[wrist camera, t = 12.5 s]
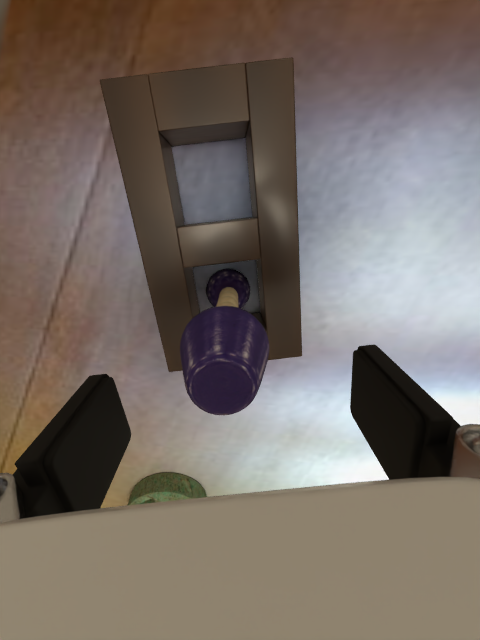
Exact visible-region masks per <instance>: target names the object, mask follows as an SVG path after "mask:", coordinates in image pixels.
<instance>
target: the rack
mask: <svg viewBox="0 0 480 640" xmlns="http://www.w3.org/2000/svg"><path fill="white" fill-rule="evenodd" d="M100 84H101V88H102V92H103V97H104V101H105V105H106V109H107V113H108V118H109V122H110V126H111V130H112V134H113V139H114V143H115V147H116V151H117V155H118V160H119V164H120V168H121V172H122V177H123V181H124V185H125V189H126V193H127V198H128V202H129V206H130V210H131V214H132V219H133V223H134V227H135V231H136V235H137V240H138V244H139V248H140V252H141V256H142V261H143V265H144V269H145V273H146V277H147V282H148V286H149V290H150V294H151V299H152V303H153V307H154V311H155V315H156V320H157V324H158V328H159V332H160V336H161V341H162V345H163V349H164V353H165V357H166V362H167V366H168V370H169V372H173V371H181V370H183V369H182V363H181V355H180V341H181V337H182V334H183V332H184V330H185V328H186V326H187V324H188V323H189V322H190V321H191V319H193V318H194V317H195V316H196V315H198V314H199V313H200V310H199V304H198V298H197V293H196V287H195V281H194V275H193V270H192V267H197V266H205V265H214V264H222V263H231V262H239V261H248V260H256V265H257V276H258V288H259V299H260V311H261V313H260V312H259V313H250V314H252V315H253V316H254V317H256V319H257V320H258V321H259V322H260V323H261V324H262V326H263V327H264V329H265V331H266V333H267V336H268V341H269V356H268V360H274V359H282V358H290V357H299V356H302V337H301V303H300V269H299V234H298V200H297V166H296V132H295V97H294V63H293V58H283V59H275V60H266V61H258V62H249V63H238V64H229V65H221V66H212V67H204V68H195V69H186V70H178V71H169V72H161V73H152V74H145V75H136V76H128V77H119V78H110V79H102V80H100ZM238 138H246V149H247V161H248V172H249V184H250V195H251V207H252V217H248V218H239V219H231V220H222V221H214V222H205V223H197V224H188V225H185V223H184V218H183V212H182V206H181V200H180V195H179V189H178V183H177V177H176V171H175V166H174V160H173V154H172V148H171V146H178V145H187V144H195V143H204V142H212V141H221V140H229V139H238Z"/></svg>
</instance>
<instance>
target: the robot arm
mask: <svg viewBox="0 0 480 640" xmlns="http://www.w3.org/2000/svg"><path fill="white" fill-rule="evenodd" d="M350 408H351V413H352V416H353V418H354V420H355V421H356V423H357V425H358V427H359V428H360V430H361V432H362V433H363V435H364V437H365V439H366V440H367V442H368V444H369V445H370V447H371V449H372V451H373V452H374V454H375V456H376V457H377V459H378V461H379V463H380V464H381V466H382V468H383V469H384V471H385V473H386V475H387V476H388V478H389V480H381V481H368V482H356V483H346V484H335V485H325V486H314V487H304V488H293V489H283V490H273V491H263V492H253V493H243V494H233V495H223V496H213V497H204V498H194V499H184V500H174V501H165V502H156V503H147V504H137V505H128V506H119V507H110V508H100V507H101V505H102V502H103V500H104V498H105V496H106V493H107V491H108V489H109V487H110V484H111V482H112V480H113V478H114V475H115V473H116V471H117V468H118V466H119V464H120V462H121V459H122V457H123V455H124V453H125V450H126V448H127V446H128V444H129V441H130V438H131V431H130V427H129V424H128V421H127V418H126V415H125V412H124V409H123V406H122V403H121V400H120V397H119V394H118V391H117V388H116V385H115V382H114V380H113V378H112V377H109V376H108V375H107V374H101V375H92V376H89V377H88V378H87V379H86V381H85V382H84V383H83V384H82V385H81V386H80V388H79V389H78V390H77V391H76V392H75V393H74V395H73V396H72V397H71V398H70V399H69V400H68V402H67V403H66V404H65V405H64V406H63V408H62V409H61V410H60V411H59V412H58V413H57V415H56V416H55V417H54V418H53V419H52V420H51V422H50V423H49V424H48V425H47V426H46V427H45V429H44V430H43V431H42V432H41V433H40V434H39V436H38V437H37V438H36V439H35V440H34V441H33V443H32V444H31V445H30V446H29V447H28V448H27V450H26V451H25V452H24V453H23V454H22V455H21V457H20V458H19V459H18V460H17V461H16V462H15V465H16V467H17V470H16V471H15V473H14V474H13V475H12V474H9V473H0V640H480V425H478V424H468V425H463V426H460V425H459V424H458V423H457V422H456V421H455V420H454V419H453V417H452V416H451V415H450V414H449V413H448V412H447V411H445V410H444V409H443V408H442V407H441V406H440V405H439V404H438V403H437V402H436V401H435V400H434V399H433V398H432V397H431V396H430V395H428V394H427V393H426V392H425V391H424V390H423V389H422V388H421V387H420V386H419V385H418V384H417V383H416V382H415V381H414V380H413V379H411V378H410V377H409V376H408V375H407V374H406V373H405V372H404V371H403V370H402V369H401V368H400V367H399V366H398V365H397V364H396V363H394V362H393V361H392V360H391V359H390V358H389V357H388V356H387V355H386V354H385V353H384V352H383V351H382V350H381V349H380V348H379V347H377V346H376V345H366V346H359V347H358V349H357V350H355V351H354V352H353V366H352V386H351V405H350Z"/></svg>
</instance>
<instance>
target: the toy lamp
mask: <svg viewBox="0 0 480 640" xmlns="http://www.w3.org/2000/svg"><path fill="white" fill-rule="evenodd" d="M206 293H207V297H208V299H209V301H210V303H211V304H212V305H213V306H214V307H211V308H209V309H207V310H204V311H202V312H201V313H199V314H198V315H196V316H195V317H194V318H193V319H191V321H190V322H189V323H188V324H187V326H186V328H185V330H184V332H183V334H182V337H181V341H180V355H181V363H182V369H183V375H184V381H185V387H186V390H187V393H188V395H189V396H190V398H191V400H192V401H193V402H194V404H195V405H197V406H198V407H199V408H200V409H202V410H204V411H205V412H208V413H211V414H215V415H229V414H234V413H237V412H239V411H241V410H243V409H244V408H246V407H247V406H248V405H249V404H250V403H251V402H252V401H253V399H254V398H255V396H256V394H257V392H258V390H259V387H260V384H261V381H262V377H263V374H264V371H265V367H266V364H267V360H268V356H269V341H268V336H267V333H266V331H265V329H264V327H263V326H262V324H261V323H260V322H259V321H258V320H257V319H256V317H254V316H253V315H252V314H250V313H248V312H247V311H245V310H243V309H241V308H242V307H243V306H244V305H245V304H246V302H247V301H248V299H249V296H250V285H249V282H248V280H247V278H246V277H245V276H244V275H243V274H242V273H241V272H239V271H237V270H234V269H223V270H219V271H217V272H216V273H214V274H213V275H212V276H211V277H210V279H209V281H208V283H207V287H206Z"/></svg>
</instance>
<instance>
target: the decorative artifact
mask: <svg viewBox="0 0 480 640" xmlns="http://www.w3.org/2000/svg"><path fill="white" fill-rule="evenodd" d="M204 497H207V496H206V493H205V490H204V489H203V487H202V486H201V485H200V484H199V483H198V482H197V481H195V480H194V479H192V478H190V477H188V476H185V475H182V474H177V473H159V474H154V475H151V476H148V477H146V478H144V479H143V480H141V481H140V482H139V483H138V484H137V485H136V486H135V487H134V489H133V491H132V494H131V497H130V500H129V503H128V505H137V504H147V503H156V502H165V501H174V500H184V499H194V498H204ZM128 505H127V506H128Z"/></svg>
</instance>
